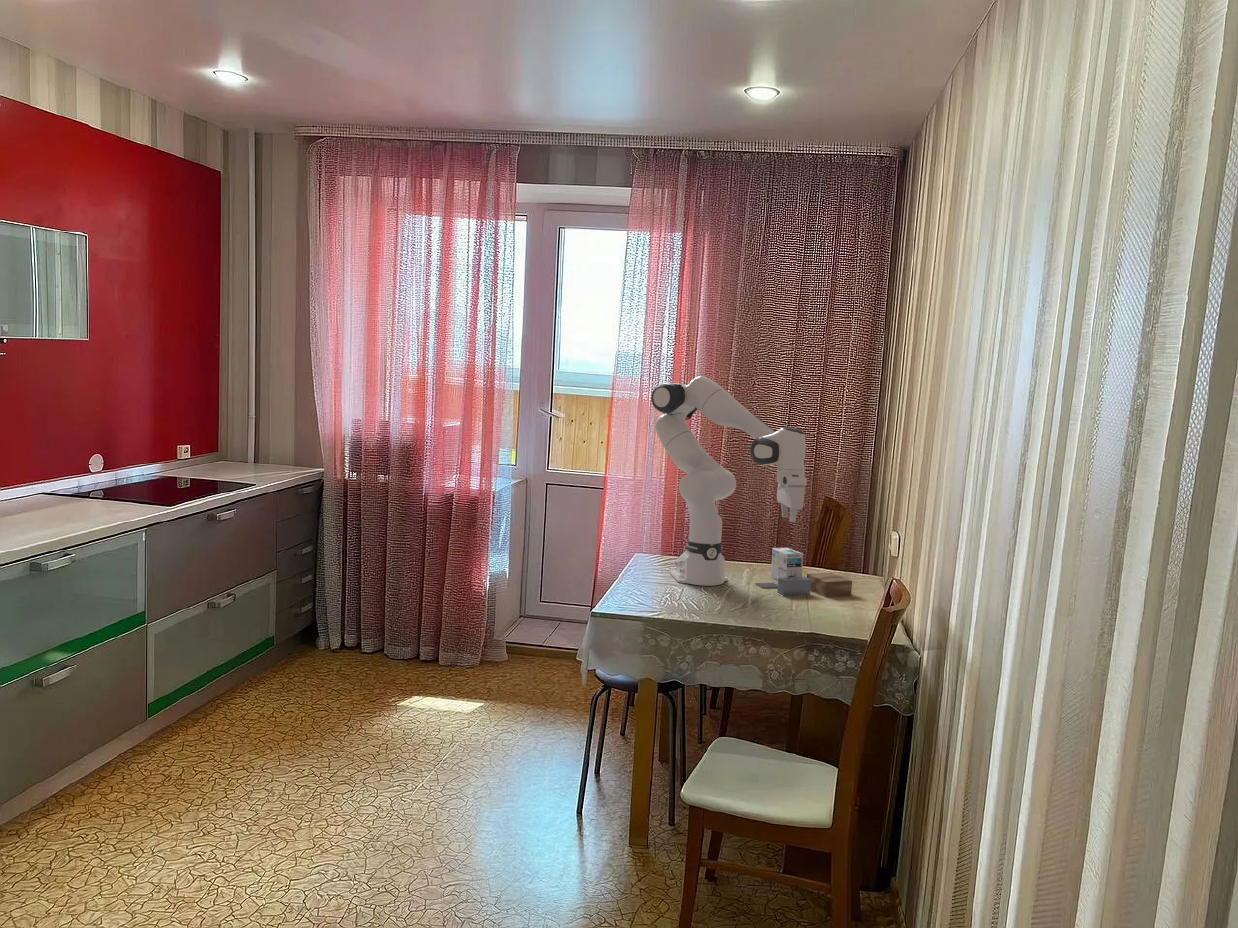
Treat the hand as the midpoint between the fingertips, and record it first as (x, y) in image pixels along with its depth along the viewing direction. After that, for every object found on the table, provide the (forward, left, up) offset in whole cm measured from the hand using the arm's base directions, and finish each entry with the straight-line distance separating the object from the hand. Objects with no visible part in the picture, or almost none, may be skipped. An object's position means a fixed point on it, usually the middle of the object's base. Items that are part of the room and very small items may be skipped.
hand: (788, 519), depth 302 cm
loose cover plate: (-14, +2, -26) cm, 30 cm away
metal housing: (-2, +5, -26) cm, 27 cm away
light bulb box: (-21, +13, -26) cm, 36 cm away
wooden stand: (-3, +19, -26) cm, 32 cm away
